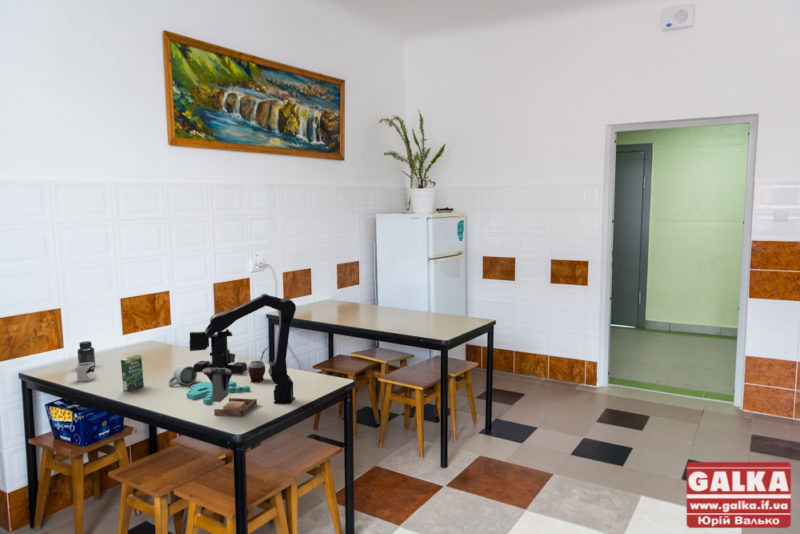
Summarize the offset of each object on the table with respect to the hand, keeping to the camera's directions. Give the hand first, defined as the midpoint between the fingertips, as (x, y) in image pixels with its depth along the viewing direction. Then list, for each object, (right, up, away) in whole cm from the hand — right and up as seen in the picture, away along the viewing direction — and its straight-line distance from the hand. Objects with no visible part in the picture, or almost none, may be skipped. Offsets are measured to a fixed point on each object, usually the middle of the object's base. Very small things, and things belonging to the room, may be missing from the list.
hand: (221, 389), depth 216 cm
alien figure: (-9, -6, +19) cm, 22 cm away
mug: (-70, -3, +39) cm, 80 cm away
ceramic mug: (-26, -4, +31) cm, 41 cm away
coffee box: (-44, -5, +25) cm, 50 cm away
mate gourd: (+5, -3, +34) cm, 35 cm away
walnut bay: (+5, -7, 0) cm, 9 cm away
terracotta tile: (+4, -8, +1) cm, 9 cm away
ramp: (-16, -2, +50) cm, 53 cm away
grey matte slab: (0, -3, 0) cm, 3 cm away
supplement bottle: (-78, -1, +54) cm, 96 cm away
